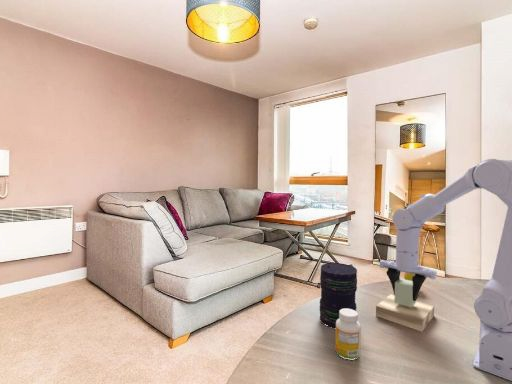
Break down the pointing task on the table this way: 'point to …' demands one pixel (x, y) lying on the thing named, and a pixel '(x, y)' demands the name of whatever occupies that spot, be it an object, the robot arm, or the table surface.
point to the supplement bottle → (348, 334)
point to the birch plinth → (405, 313)
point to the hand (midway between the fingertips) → (405, 297)
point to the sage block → (404, 292)
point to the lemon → (408, 276)
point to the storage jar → (336, 291)
